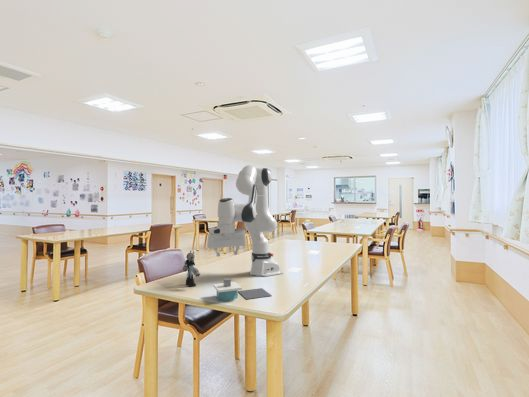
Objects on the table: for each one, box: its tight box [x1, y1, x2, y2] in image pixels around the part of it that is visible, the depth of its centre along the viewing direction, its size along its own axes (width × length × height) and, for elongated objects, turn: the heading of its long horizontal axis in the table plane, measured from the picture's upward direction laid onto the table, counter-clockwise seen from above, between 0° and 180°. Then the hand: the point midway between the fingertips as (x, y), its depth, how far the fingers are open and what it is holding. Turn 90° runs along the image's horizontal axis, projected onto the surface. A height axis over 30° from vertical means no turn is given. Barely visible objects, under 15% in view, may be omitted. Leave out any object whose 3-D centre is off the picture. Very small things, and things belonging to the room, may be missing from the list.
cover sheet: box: [212, 277, 243, 293], centre depth 156 cm, size 12×12×4 cm
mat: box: [238, 287, 272, 300], centre depth 162 cm, size 14×14×1 cm
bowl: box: [216, 290, 239, 302], centre depth 156 cm, size 10×10×5 cm
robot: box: [182, 250, 201, 288], centre depth 179 cm, size 20×5×20 cm, turn 38°
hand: (227, 255), depth 159 cm, fingers open, 8 cm apart
